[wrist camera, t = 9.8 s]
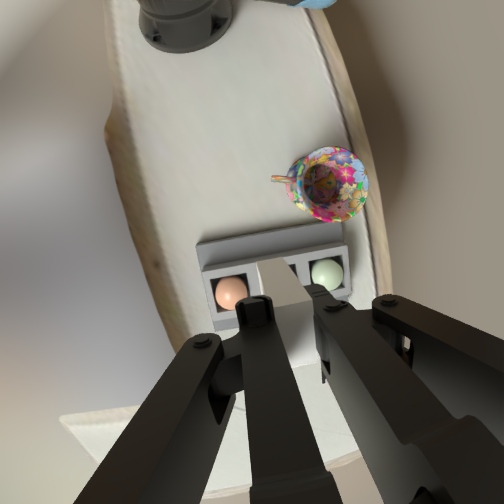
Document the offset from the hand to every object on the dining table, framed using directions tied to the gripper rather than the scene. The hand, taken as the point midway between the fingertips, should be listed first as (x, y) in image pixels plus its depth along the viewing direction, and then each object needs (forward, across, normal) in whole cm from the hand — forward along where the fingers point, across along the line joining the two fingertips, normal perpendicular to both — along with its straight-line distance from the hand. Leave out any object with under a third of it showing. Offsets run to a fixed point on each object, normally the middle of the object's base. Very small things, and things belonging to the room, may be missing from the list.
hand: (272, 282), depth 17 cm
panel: (+29, +3, -9) cm, 31 cm away
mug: (+30, +10, +4) cm, 31 cm away
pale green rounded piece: (+27, +10, -9) cm, 30 cm away
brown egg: (+27, -4, -9) cm, 29 cm away
